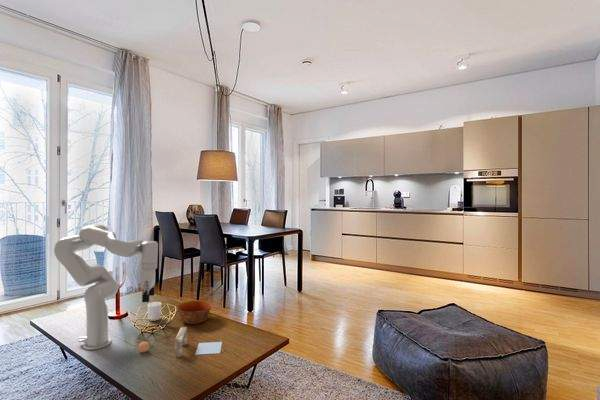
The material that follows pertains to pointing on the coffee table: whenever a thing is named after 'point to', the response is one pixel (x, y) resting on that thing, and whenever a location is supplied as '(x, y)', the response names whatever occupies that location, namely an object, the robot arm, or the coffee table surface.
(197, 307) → the bowl
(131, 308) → the coffee table surface
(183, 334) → the bridge
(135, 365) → the coffee table surface
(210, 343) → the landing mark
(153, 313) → the white cup
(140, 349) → the ball
